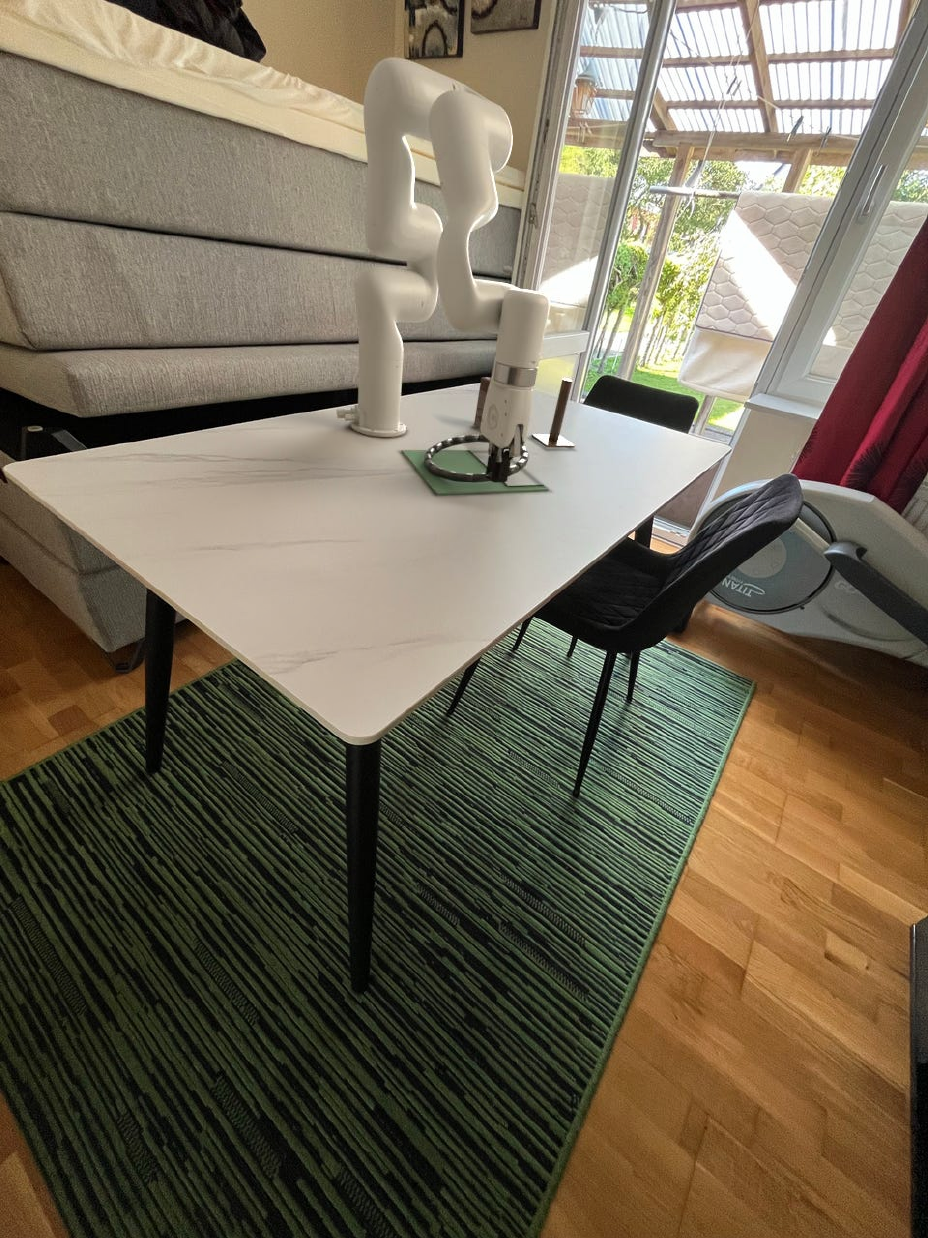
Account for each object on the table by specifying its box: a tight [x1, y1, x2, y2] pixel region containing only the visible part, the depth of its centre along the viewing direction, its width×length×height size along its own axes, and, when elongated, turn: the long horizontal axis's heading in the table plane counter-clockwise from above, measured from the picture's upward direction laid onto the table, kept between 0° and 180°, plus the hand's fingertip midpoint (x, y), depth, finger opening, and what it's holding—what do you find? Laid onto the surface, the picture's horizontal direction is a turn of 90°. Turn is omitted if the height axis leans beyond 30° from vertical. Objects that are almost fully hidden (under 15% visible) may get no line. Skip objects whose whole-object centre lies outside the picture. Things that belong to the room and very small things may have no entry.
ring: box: [424, 433, 530, 483], centre depth 105 cm, size 21×21×2 cm
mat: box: [401, 449, 549, 496], centre depth 107 cm, size 24×22×1 cm
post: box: [531, 378, 576, 448], centre depth 125 cm, size 8×8×15 cm
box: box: [473, 377, 492, 429], centre depth 128 cm, size 6×4×12 cm
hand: (496, 478), depth 98 cm, fingers closed on ring, 1 cm apart
